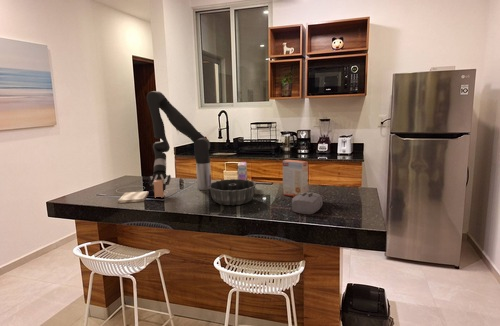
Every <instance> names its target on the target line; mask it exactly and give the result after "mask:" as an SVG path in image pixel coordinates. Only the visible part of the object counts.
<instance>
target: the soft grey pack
mask: <svg viewBox="0 0 500 326" xmlns="http://www.w3.org/2000/svg"><path fill="white" fill-rule="evenodd" d="M323 202H324V201H323V196H322V195H321V194H319V193H316V192H304V193H300V194H298V195H297V196H295V197H293V198H291V208H292V211H293V212H295V213H296V214H301V215H302V214H303V215H313V214H315V213H317V212H318V211H319V210H320V209H321V208H322V206H323V205H324V204H323Z"/></svg>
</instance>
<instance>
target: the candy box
mask: <svg viewBox="0 0 500 326" xmlns="http://www.w3.org/2000/svg"><path fill="white" fill-rule="evenodd" d="M247 163H248V162H247V161H239V162H237V165H236V167H237V172H236V173H237V179H244V180H248V167H247Z"/></svg>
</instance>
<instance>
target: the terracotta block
mask: <svg viewBox="0 0 500 326" xmlns="http://www.w3.org/2000/svg"><path fill="white" fill-rule="evenodd" d="M153 181H154V191H153V193H154V198H155V199H157V198H156V197H161V198H164V197H165V190H164V191H163V180H162V179H160V180H154V179H153Z"/></svg>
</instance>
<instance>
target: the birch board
mask: <svg viewBox="0 0 500 326" xmlns="http://www.w3.org/2000/svg"><path fill="white" fill-rule="evenodd" d="M148 196H149V191H147V190H146V191H130V192H124V193H123V195H122V196H121V197H120V198H118V200H117V204H122V203H125V204H126V203H138V202H139V203H141V202H144V201H145V200H146V199H147V197H148Z"/></svg>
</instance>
